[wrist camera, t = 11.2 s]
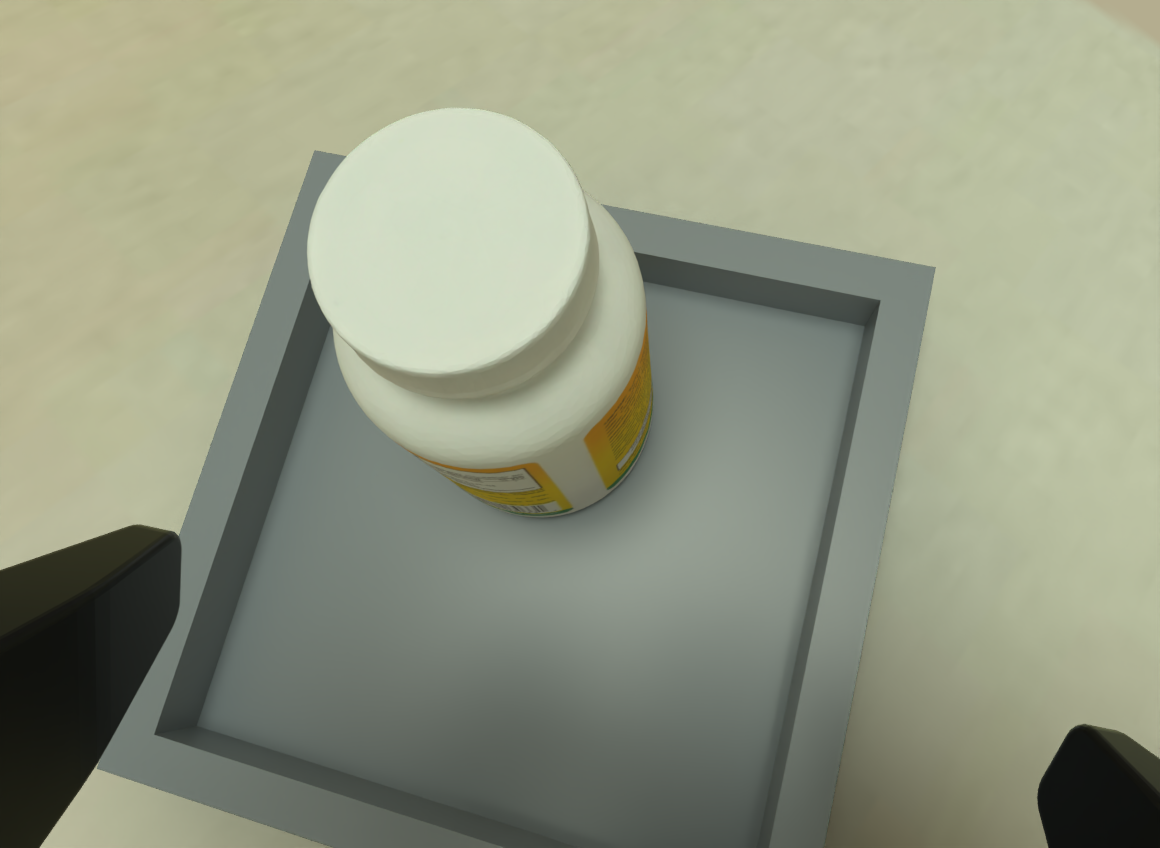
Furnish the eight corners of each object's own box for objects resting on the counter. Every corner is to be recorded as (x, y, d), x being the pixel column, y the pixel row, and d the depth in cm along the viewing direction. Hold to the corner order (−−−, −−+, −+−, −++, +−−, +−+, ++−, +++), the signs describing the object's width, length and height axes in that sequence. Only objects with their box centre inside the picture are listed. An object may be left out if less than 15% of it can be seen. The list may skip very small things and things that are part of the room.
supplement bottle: (492, 559, 20) (336, 499, 11) (404, 367, 22) (198, 171, 12) (696, 454, 20) (710, 308, 11) (595, 270, 22) (532, 2, 13)
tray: (779, 953, 19) (794, 1002, 16) (164, 752, 21) (96, 768, 19) (907, 307, 21) (935, 267, 19) (352, 198, 24) (314, 150, 22)
